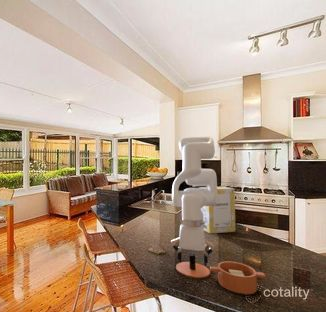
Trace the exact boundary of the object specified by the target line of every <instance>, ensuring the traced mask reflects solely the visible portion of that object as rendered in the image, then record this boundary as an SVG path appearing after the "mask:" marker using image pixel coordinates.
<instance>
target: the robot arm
mask: <svg viewBox="0 0 326 312" xmlns="http://www.w3.org/2000/svg"><path fill="white" fill-rule="evenodd" d="M178 148H179V152H180V153H181V155H182V171H181V172H179V174H177V176H176V177H175V179H174V181H173V182H172V188H171V202H172V204H173V206H175V207H177V208H181V224H180V226H179V237H177V238H174V239H172V240H170V244H171V246H172V248H173V249H174V250H175V251H176V252H177V260H178V261H179V263H181V262H182V251H183V250H186V251H196V252H202V253H203V254H202V255H203V256H202V258H203V265H204V266H205V267H207V264H209V260H208V257H209V255H210V254H212V253H213V251H214V249H215V247H216V246H215V244H213V243H211V242H210V241H208V240H206V236H205V231H204V229H203V224H205V221H203V213H202V211H201V208H202V207H203V206H215V205H216V204H217V200H218V198H217V187H218V177H217V173H216V171H215V170H214V169H212V168H202V160H211V159H213V158H214V156H215V152H216V149H215V142H214V138H213V137H212V136H191V137H183V138H181V139H180V140H179V141H178ZM183 182H185V183H186V185H188V186H194V187H188V188H185V189H183V190H179V188H180V185H181V184H183ZM197 186H198V187H197ZM199 187H208V189H205V188H199ZM176 243H179V245H178V246H177V245H176ZM207 247H209V248H208V249H206V248H207Z"/></svg>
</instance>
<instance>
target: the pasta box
mask: <svg viewBox="0 0 326 312" xmlns="http://www.w3.org/2000/svg"><path fill="white" fill-rule="evenodd" d="M198 188H205V189H208V187H207V186H198ZM217 198H218V200H217V204H216V205H215V206H203V207H202V208H201V211H202V213H203V221H205V224H203V229H204V232H206V233H208V234H219V233H221V234H222V233H235V232H236V200H235V199H236V196H235V188H233V187H228V186H217Z"/></svg>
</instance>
